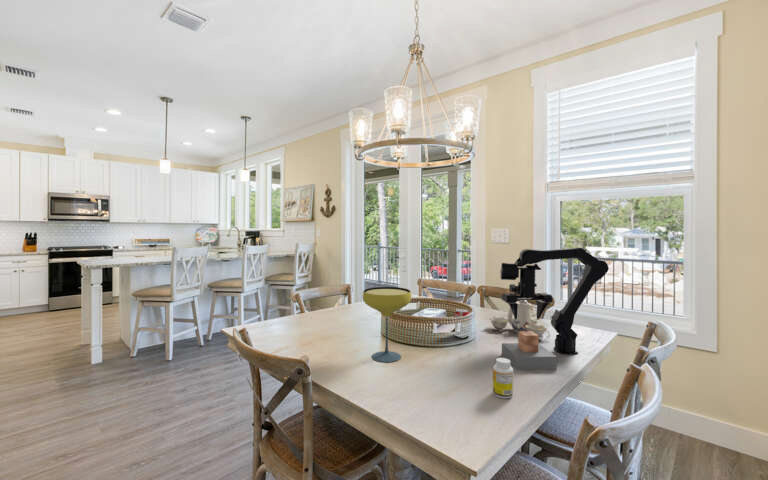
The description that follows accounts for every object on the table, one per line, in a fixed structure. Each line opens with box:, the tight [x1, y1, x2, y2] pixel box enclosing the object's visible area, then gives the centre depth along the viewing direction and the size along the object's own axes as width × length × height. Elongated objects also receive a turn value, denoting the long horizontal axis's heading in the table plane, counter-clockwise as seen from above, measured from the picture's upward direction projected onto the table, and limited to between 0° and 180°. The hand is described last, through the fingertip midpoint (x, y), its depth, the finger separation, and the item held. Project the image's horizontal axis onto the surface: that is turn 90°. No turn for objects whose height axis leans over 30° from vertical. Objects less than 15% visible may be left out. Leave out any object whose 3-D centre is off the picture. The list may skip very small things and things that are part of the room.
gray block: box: [501, 342, 558, 371], centre depth 126 cm, size 14×14×5 cm
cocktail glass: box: [362, 286, 412, 363], centre depth 130 cm, size 18×18×25 cm
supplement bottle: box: [492, 357, 514, 400], centre depth 101 cm, size 6×6×10 cm
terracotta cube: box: [517, 331, 540, 352], centre depth 126 cm, size 5×5×6 cm
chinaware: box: [489, 300, 551, 340], centre depth 161 cm, size 28×17×17 cm, turn 48°
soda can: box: [453, 308, 470, 318], centre depth 155 cm, size 7×7×12 cm
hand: (526, 319), depth 140 cm, fingers open, 9 cm apart
